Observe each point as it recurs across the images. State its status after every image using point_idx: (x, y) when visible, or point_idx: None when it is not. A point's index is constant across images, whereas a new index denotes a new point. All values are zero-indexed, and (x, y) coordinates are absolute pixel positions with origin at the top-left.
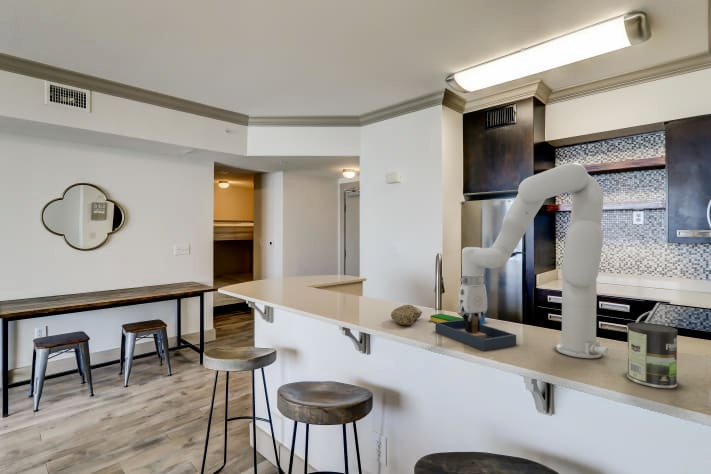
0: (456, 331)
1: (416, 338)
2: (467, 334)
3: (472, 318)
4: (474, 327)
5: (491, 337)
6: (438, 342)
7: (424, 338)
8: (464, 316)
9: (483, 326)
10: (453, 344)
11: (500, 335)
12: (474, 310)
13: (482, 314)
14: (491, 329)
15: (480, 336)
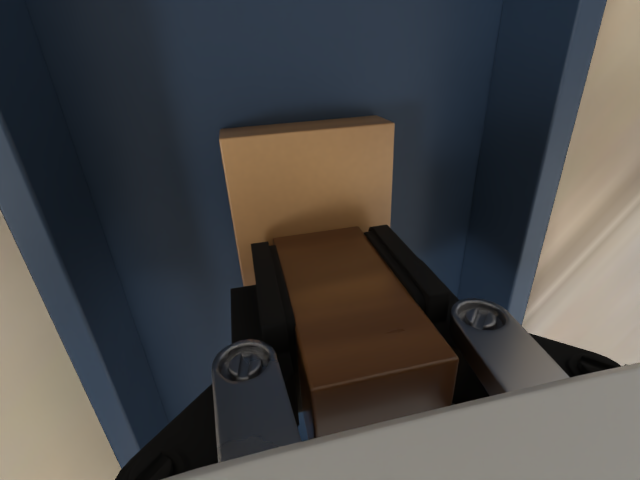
0: (532, 253)
1: (635, 323)
2: (586, 73)
3: (436, 337)
4: (340, 261)
5: (125, 147)
6: (617, 212)
7: (603, 314)
8: (609, 360)
9: (107, 355)
10: (583, 126)
11: (11, 29)
12: (636, 429)
13: (157, 455)
14: (60, 228)
15: (318, 126)
